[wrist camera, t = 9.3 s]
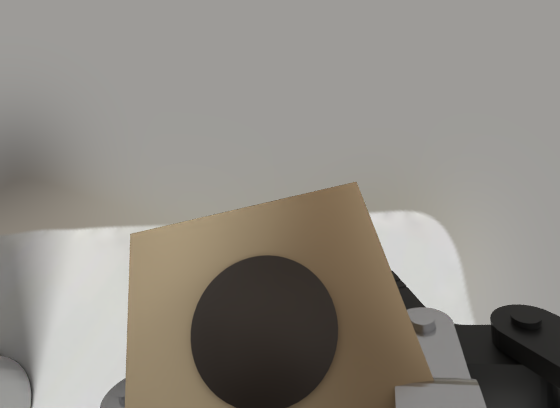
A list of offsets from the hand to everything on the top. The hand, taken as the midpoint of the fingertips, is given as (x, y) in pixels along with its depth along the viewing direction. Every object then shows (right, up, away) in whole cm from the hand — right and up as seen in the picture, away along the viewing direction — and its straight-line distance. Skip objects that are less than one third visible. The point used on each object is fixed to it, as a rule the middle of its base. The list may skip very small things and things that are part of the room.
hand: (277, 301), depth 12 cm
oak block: (+1, -4, +3) cm, 5 cm away
